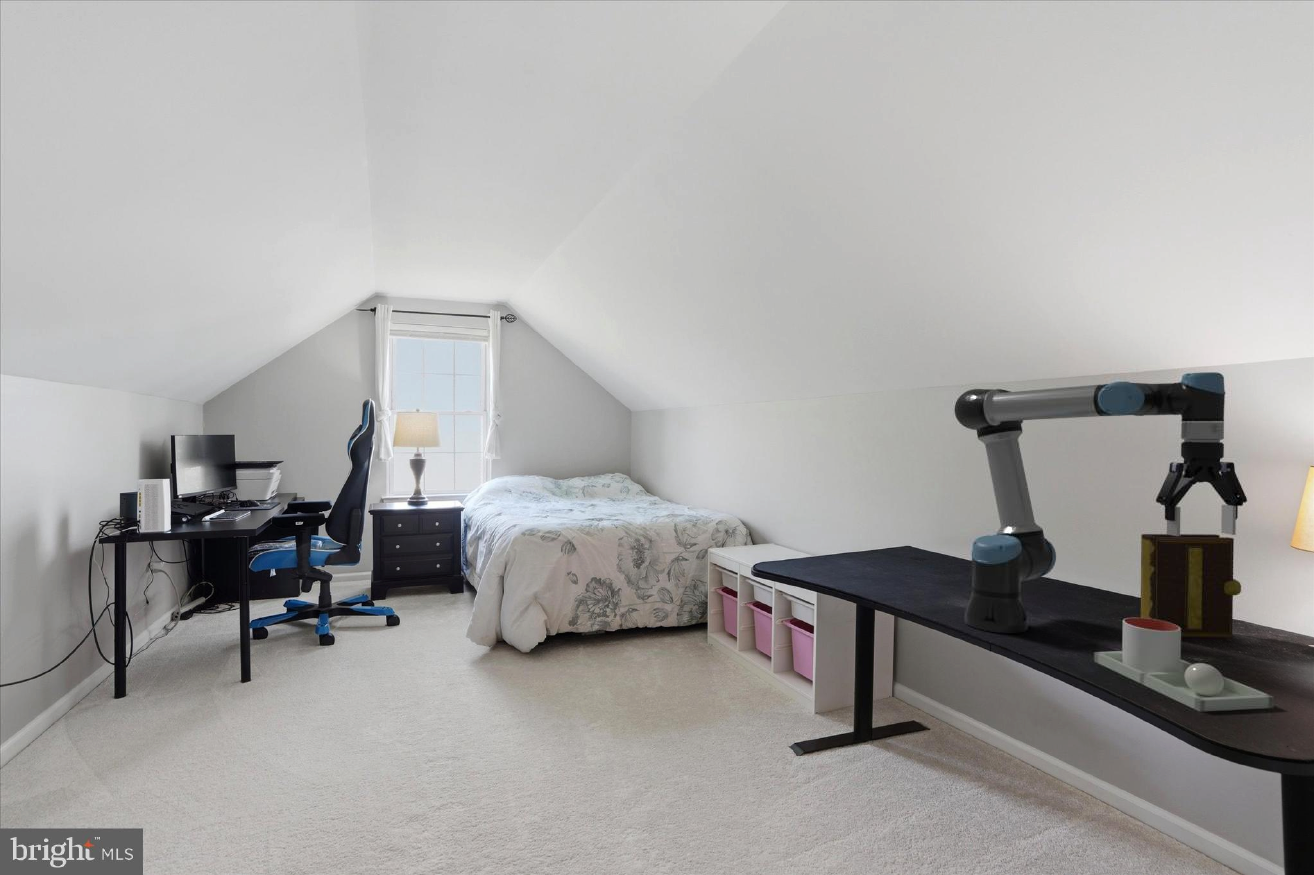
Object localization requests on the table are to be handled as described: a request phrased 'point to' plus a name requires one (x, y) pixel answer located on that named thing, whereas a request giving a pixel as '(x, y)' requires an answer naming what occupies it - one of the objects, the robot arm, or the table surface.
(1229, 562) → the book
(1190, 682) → the egg
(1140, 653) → the cup
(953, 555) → the table surface
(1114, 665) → the holder
